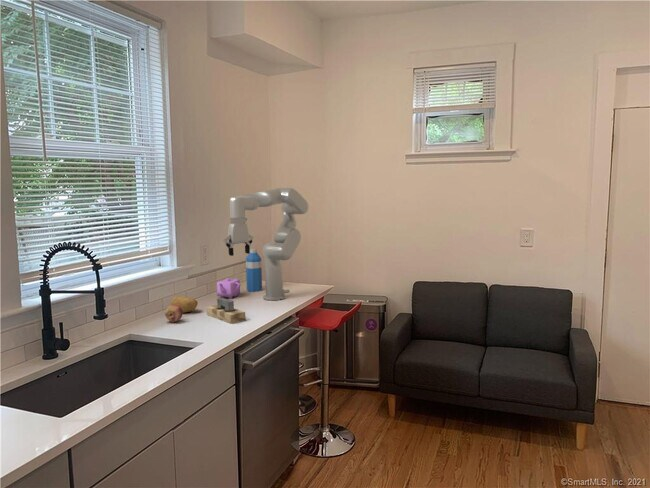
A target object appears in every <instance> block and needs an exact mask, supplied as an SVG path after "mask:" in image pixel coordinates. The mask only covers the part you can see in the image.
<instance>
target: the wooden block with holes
mask: <svg viewBox="0 0 650 488" xmlns="http://www.w3.org/2000/svg"><path fill="white" fill-rule="evenodd" d="M206 315H207V316H208V317H211V318H214V319H217V320H220V321H223V322H226V323H228V324H235V323H239V322H243V321H246V311H243V310H241V309H237V308H234V311H232V312H225V309H221V310H219V309H218V306H217V304H215V305H211V306H210V305H209V306H207V307H206Z"/></svg>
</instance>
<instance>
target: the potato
mask: <svg viewBox="0 0 650 488" xmlns="http://www.w3.org/2000/svg"><path fill="white" fill-rule="evenodd" d="M170 303H171V305H178V306H180V307H181V309H182V314H183V313H191V312H193V311H194V310H195V309H197V307H198V300H196V298H193V297H188V296H180V295H178V296H174V297H172V299H171V302H170Z"/></svg>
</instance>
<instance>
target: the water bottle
mask: <svg viewBox="0 0 650 488" xmlns="http://www.w3.org/2000/svg"><path fill="white" fill-rule="evenodd" d="M257 251H258V250H257V248H250V253H249V254H248V255H247V256H246V257H245V273H246V274H245V275H246V277H245V278H246V291H248V292H251V293H252V292H260V291H263V277H262V276H263V275H262V273H263V272H262V270H263V269H262V257H261V256H260V255H259V253H258V252H257Z"/></svg>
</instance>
